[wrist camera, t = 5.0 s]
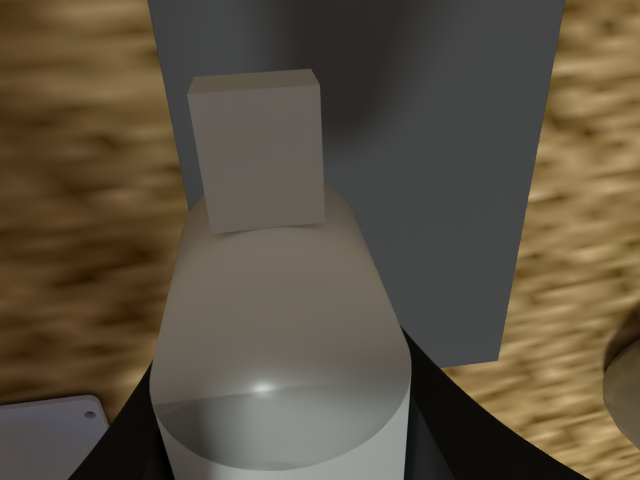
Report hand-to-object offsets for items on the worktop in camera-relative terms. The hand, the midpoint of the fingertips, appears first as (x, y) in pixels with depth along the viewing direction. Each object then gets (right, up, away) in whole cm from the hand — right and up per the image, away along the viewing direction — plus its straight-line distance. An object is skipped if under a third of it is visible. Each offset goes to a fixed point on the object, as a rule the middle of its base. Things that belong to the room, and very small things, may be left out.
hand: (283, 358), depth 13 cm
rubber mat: (+3, +4, +8) cm, 10 cm away
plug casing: (0, +2, 0) cm, 2 cm away
